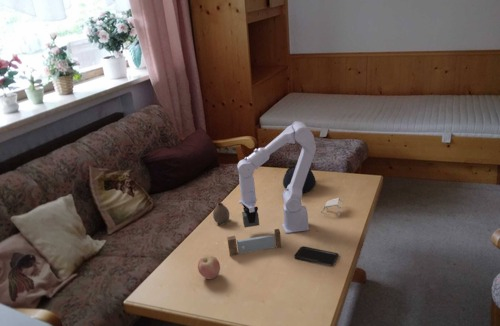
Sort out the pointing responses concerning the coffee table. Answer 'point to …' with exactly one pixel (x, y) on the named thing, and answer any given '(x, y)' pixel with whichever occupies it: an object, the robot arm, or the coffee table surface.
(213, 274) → the apple
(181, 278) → the coffee table surface
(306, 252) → the phone
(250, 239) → the door
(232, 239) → the door frame
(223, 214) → the vase
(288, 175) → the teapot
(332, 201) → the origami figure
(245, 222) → the block
